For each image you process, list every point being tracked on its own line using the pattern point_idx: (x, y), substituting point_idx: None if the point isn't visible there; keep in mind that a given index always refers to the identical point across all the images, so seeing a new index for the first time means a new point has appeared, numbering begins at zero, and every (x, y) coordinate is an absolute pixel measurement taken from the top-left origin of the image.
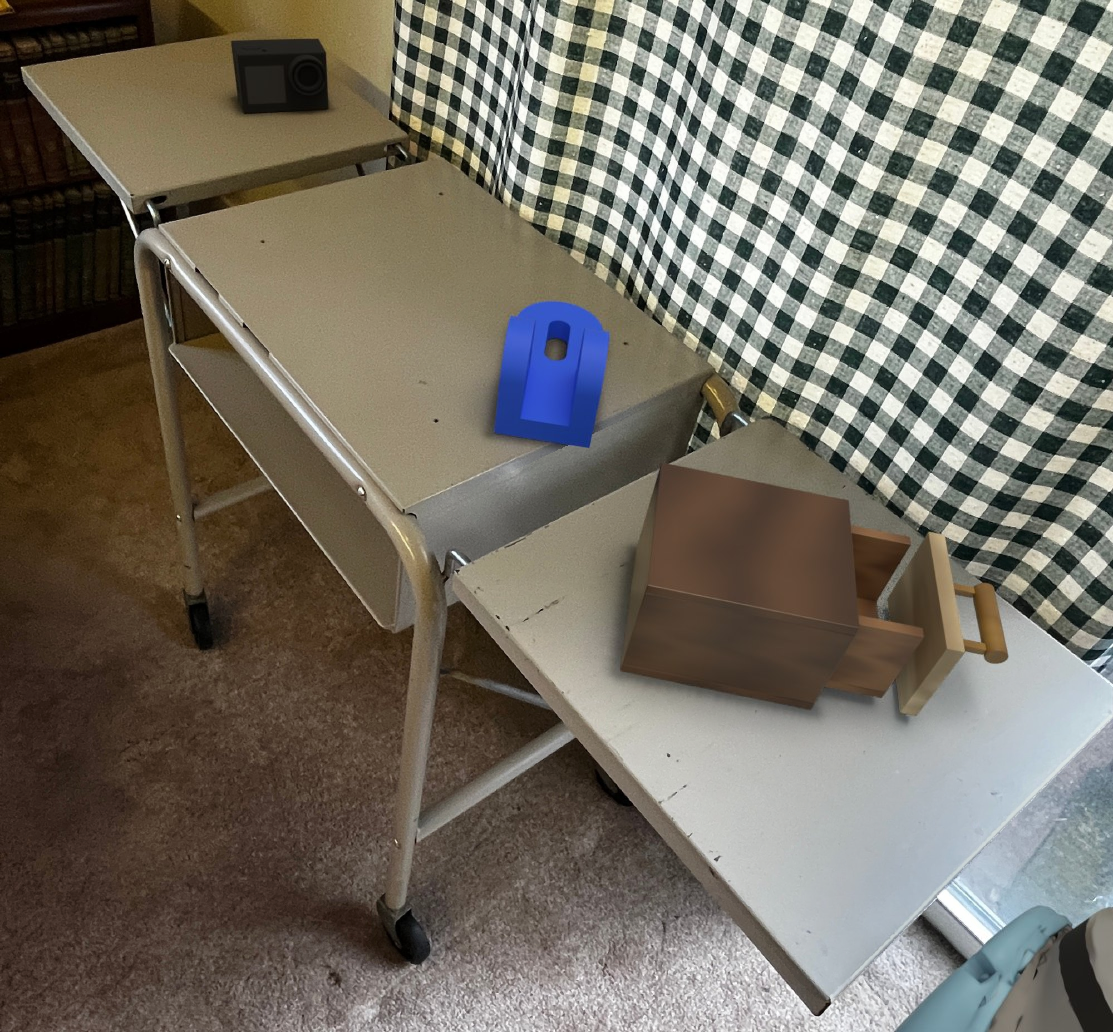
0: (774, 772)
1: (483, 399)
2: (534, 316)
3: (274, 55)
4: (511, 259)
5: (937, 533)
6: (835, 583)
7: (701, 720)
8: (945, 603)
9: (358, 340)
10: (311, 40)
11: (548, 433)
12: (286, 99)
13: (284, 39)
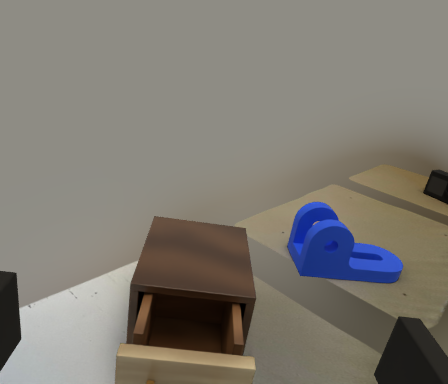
0: (78, 336)
1: None
2: (375, 249)
3: (446, 176)
4: (425, 254)
5: (254, 363)
6: (169, 278)
7: (117, 307)
8: (169, 351)
9: None
10: None
11: (295, 257)
12: (442, 195)
13: None
